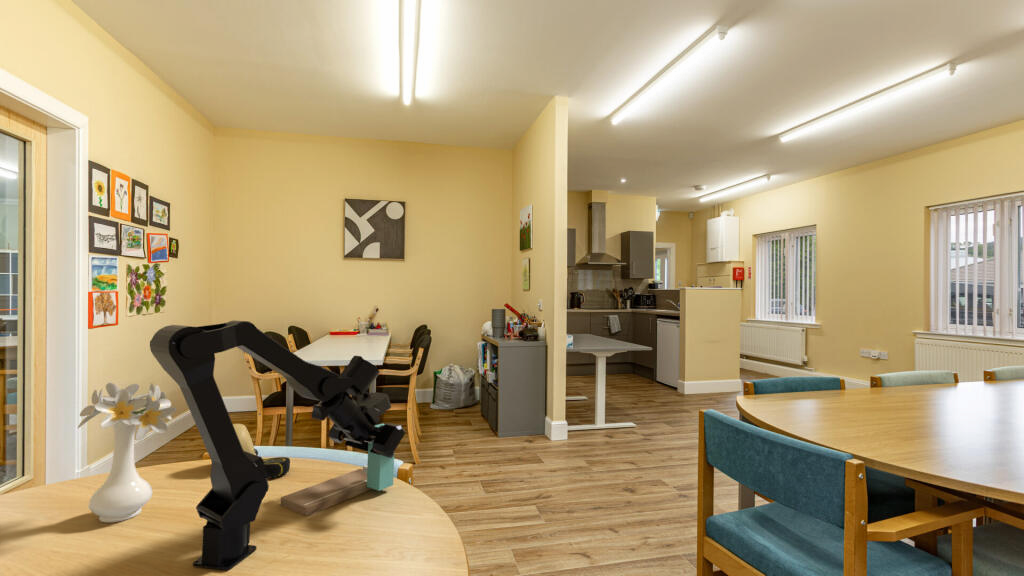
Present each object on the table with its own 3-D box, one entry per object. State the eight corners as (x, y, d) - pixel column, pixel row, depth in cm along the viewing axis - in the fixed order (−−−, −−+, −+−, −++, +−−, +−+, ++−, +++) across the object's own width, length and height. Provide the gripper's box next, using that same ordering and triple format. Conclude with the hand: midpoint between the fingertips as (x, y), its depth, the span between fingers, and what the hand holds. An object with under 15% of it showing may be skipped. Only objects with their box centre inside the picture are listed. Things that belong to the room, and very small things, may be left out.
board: (306, 516, 89) (306, 508, 89) (280, 504, 94) (280, 496, 94) (385, 483, 106) (385, 476, 106) (360, 474, 110) (360, 468, 111)
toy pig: (250, 481, 114) (272, 443, 122) (231, 456, 107) (255, 417, 115) (214, 478, 115) (237, 440, 123) (192, 452, 107) (218, 414, 116)
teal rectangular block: (379, 490, 98) (381, 430, 99) (357, 483, 102) (359, 425, 103) (393, 485, 102) (395, 426, 102) (372, 478, 105) (373, 421, 106)
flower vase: (126, 538, 79) (133, 394, 80) (49, 524, 84) (57, 387, 85) (194, 506, 92) (200, 382, 93) (124, 495, 96) (130, 377, 97)
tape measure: (290, 469, 114) (290, 454, 114) (288, 478, 108) (289, 462, 108) (259, 472, 111) (259, 457, 111) (255, 482, 105) (256, 466, 105)
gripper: (400, 387, 94) (435, 429, 103) (342, 377, 104) (378, 417, 113) (368, 434, 87) (408, 475, 96) (309, 419, 97) (350, 458, 106)
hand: (385, 454), depth 102 cm, fingers closed on teal rectangular block, 4 cm apart
